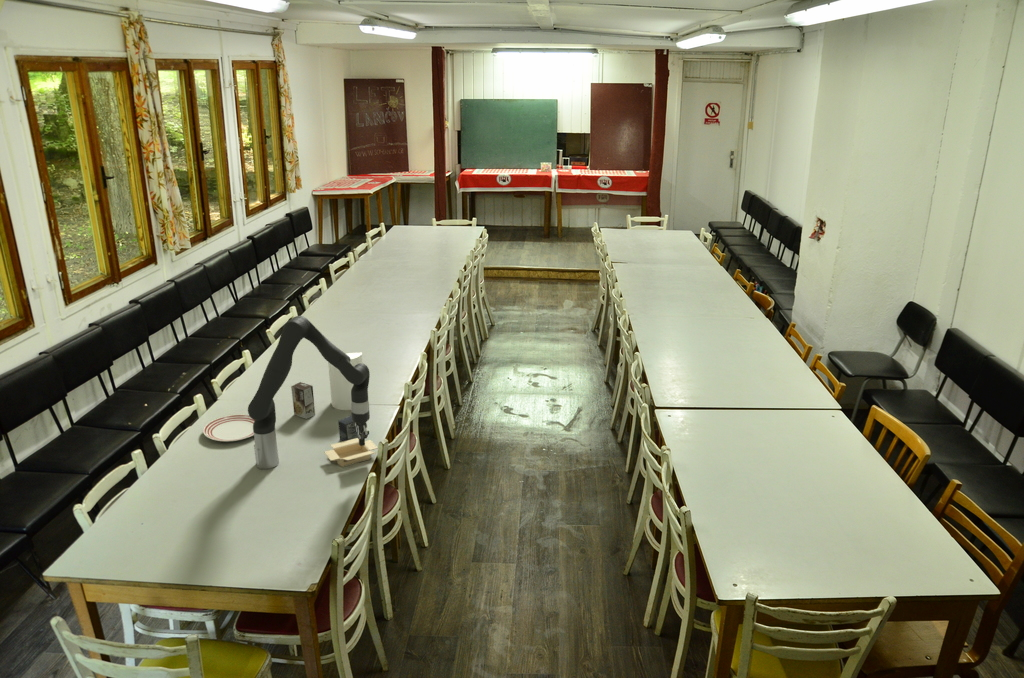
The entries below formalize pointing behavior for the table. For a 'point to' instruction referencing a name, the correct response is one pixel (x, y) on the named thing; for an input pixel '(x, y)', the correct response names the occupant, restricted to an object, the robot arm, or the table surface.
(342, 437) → the small box
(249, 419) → the dinner plate
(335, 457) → the carton
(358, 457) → the front flap
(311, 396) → the coffee box
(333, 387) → the cylinder
